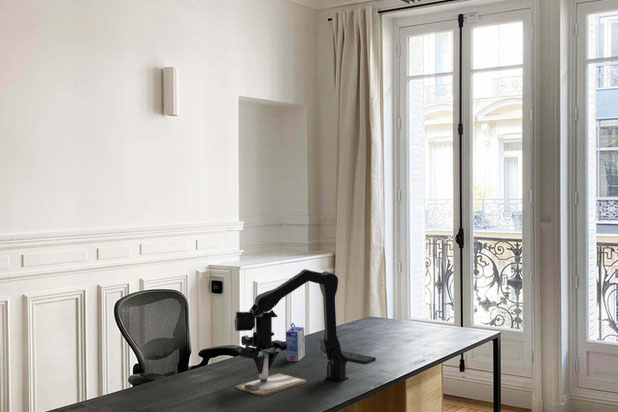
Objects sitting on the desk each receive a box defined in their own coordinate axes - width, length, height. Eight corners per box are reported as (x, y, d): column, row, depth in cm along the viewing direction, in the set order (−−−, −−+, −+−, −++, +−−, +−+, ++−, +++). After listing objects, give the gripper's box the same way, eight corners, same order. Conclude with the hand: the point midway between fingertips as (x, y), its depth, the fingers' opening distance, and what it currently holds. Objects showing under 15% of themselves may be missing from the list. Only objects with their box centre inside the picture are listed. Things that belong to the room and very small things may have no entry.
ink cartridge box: (292, 355, 292) (292, 321, 292) (305, 356, 291) (305, 321, 290) (285, 360, 283) (285, 325, 282) (298, 361, 281) (298, 326, 281)
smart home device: (365, 361, 278) (325, 353, 291) (365, 365, 278) (325, 357, 291) (376, 357, 284) (337, 349, 297) (376, 361, 284) (337, 353, 297)
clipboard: (306, 382, 252) (306, 377, 252) (263, 396, 235) (263, 390, 235) (279, 375, 261) (279, 370, 261) (235, 388, 245) (235, 383, 245)
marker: (270, 380, 250) (270, 353, 249) (263, 382, 247) (263, 355, 247) (263, 379, 252) (263, 351, 252) (257, 381, 249) (257, 353, 249)
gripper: (266, 322, 261) (266, 363, 262) (229, 330, 247) (229, 373, 248) (287, 326, 254) (287, 369, 254) (250, 335, 240) (250, 379, 240)
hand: (263, 372), depth 249 cm, fingers closed on marker, 3 cm apart
